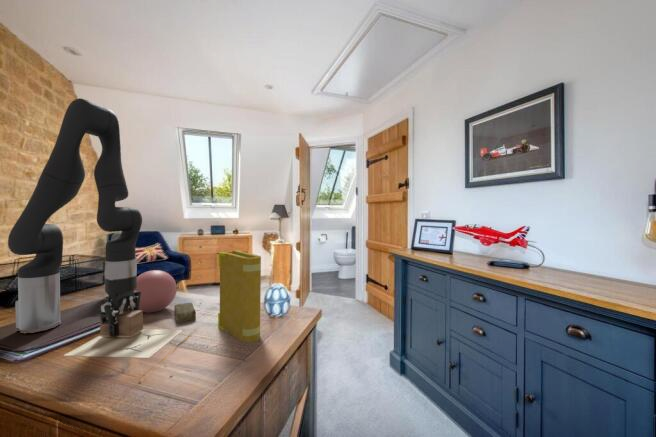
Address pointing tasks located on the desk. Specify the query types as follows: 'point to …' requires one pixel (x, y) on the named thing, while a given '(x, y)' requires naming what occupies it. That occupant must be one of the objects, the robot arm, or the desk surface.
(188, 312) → the stone block
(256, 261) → the book
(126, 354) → the birch board
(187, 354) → the desk surface
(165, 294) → the pink egg
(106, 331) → the block
